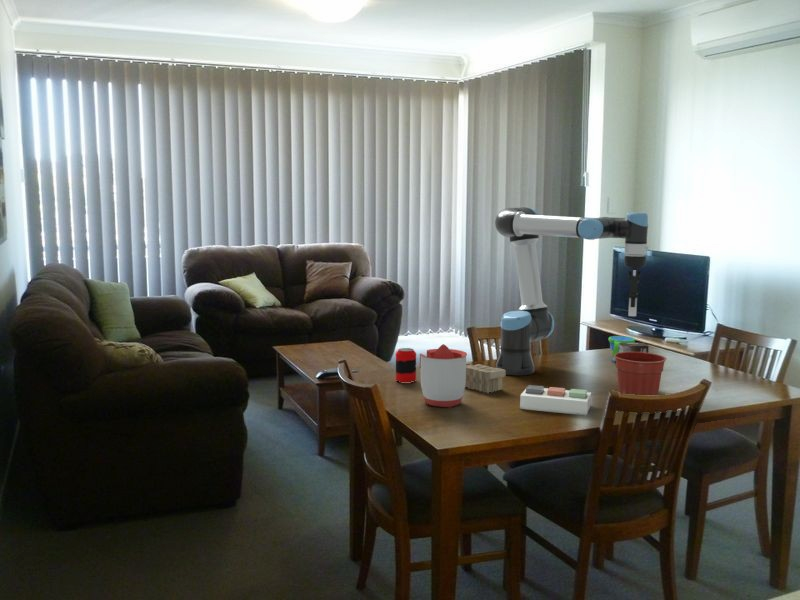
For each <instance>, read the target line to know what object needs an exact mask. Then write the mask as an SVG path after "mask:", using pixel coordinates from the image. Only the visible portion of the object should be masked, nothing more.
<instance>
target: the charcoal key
mask: <svg viewBox="0 0 800 600" xmlns="http://www.w3.org/2000/svg"><path fill="white" fill-rule="evenodd" d="M544 388H545V386H544V385H533V384H532V385H531V384H529V385H527V386H526V388H525V389H526V393H528V394H539V395H542V394H543V392H544Z"/></svg>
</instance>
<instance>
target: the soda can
mask: <svg viewBox="0 0 800 600" xmlns="http://www.w3.org/2000/svg"><path fill="white" fill-rule="evenodd" d="M416 364H417V352H416V351H415V350H414V348H411V347H401V348H398V349H397V351H396V352H395V381H396V380H397V381H400V382H411V381H415V380H416V381H417V367H416ZM397 381H396V382H397ZM416 381H415V382H416Z"/></svg>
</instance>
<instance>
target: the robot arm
mask: <svg viewBox="0 0 800 600" xmlns="http://www.w3.org/2000/svg"><path fill="white" fill-rule="evenodd" d="M648 216H649V215H648V214H647V213H646V212H627V213H626V216H625V217H609V216H602V217H580V216H564V215H547V214H544V215H543V214H540V213H539V212H538V211H537V210H535V209H533V208H531V207H506V208H503V209H502V210H500V211H499V212H498V213H497V215H496V216H495V221H494V226H495V229H496V231H497V232H498V233H499V234H500V235H502V236H503V237H507V238H509V243H510V244H511V245H512V246H513V247H514V254H515V262H516V271H517V279H518V286H519V294H520V304H521V305H520V306H519V308H518V310H513V311H511V310H510V311H508V312H505V313H503V315H502V316H501V318H500V319H501V321H500V352H499V354H498V357H497V361H496V364H495V368H501V369H504V370H505V376H506V375H507V376H528V375H533V374H534V373H535V364H534V361H533V358H532V355H531V343H532V342H536V341H542V340H544V339H546V338H548V337H550V335H552V333H553V331H554V330H555V329H554V328H555V320H554V319H555V318H554V316H553V314H551V312H549V311H548V305H547V304H545V303H544V301H543V292H542V286H541V285H542V283H541V278H540V277H541V276H540V267H539V261H538V260H539V259H538V251H537V250H538V249H537V242H538V241H539V240H540V239H539V238H540V236H549V237H561V238H562V237H563V238H564V237H565V238H577V239H585V240H589V241H593V240H598V239H599V240H600V239H624V240H625V241H624V256H623V258H624V260H623V261H624V262H623V264H624V266H625V267H630V270H629V271H628V277H629V278H628V282H629V283H630V284H629V295H627V299H628V314H627V315H628V317H637V311H638V309H637V308H638V307H637V306H638V294H639V293H640V290H638V284H639V283H640V277H641V271H640V270H639V268H643V267H646V264H647V257H646V255H647V250H648V249H649V246H647V244H648V228H649V218H648Z"/></svg>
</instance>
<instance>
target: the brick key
mask: <svg viewBox="0 0 800 600" xmlns="http://www.w3.org/2000/svg"><path fill="white" fill-rule="evenodd" d="M565 390H566V388H565V387H557V386H556V387H554V386H550V387H549V388H548V390H547V395H550V396H561V397H564V395H565Z"/></svg>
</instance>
